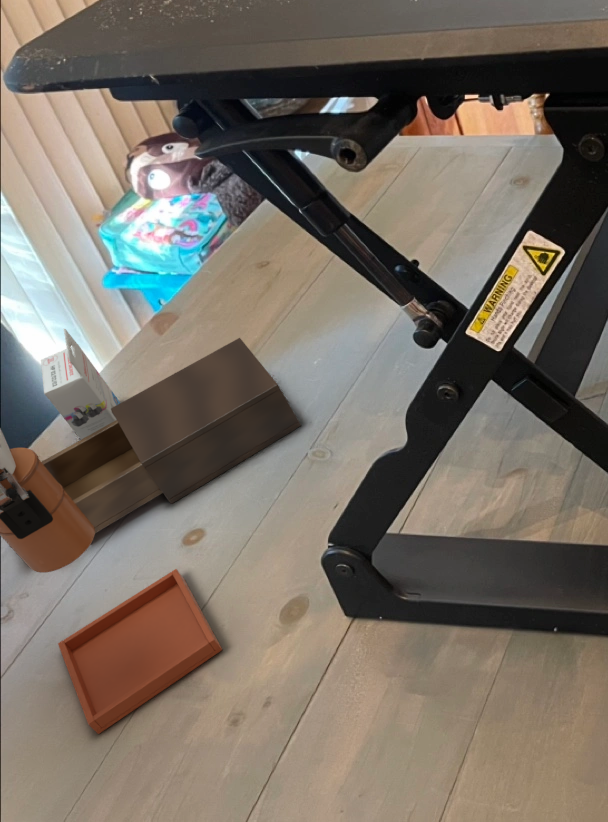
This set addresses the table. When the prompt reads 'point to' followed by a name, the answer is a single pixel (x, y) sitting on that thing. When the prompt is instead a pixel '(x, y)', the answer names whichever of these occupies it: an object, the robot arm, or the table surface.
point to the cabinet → (205, 419)
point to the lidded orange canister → (61, 535)
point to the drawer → (103, 476)
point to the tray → (137, 650)
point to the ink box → (78, 389)
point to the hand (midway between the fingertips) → (27, 507)
